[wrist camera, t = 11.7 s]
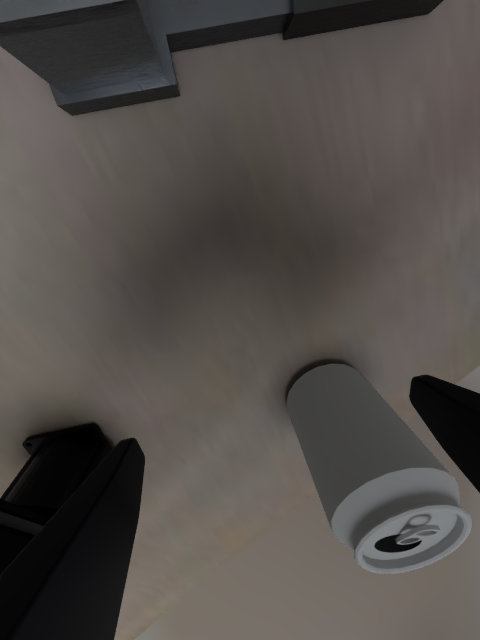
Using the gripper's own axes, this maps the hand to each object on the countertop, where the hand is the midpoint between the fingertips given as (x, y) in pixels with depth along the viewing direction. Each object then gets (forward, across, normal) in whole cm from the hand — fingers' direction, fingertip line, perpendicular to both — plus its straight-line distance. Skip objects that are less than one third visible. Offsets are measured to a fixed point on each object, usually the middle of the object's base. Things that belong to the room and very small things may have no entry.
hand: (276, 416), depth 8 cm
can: (+12, -6, +11) cm, 17 cm away
